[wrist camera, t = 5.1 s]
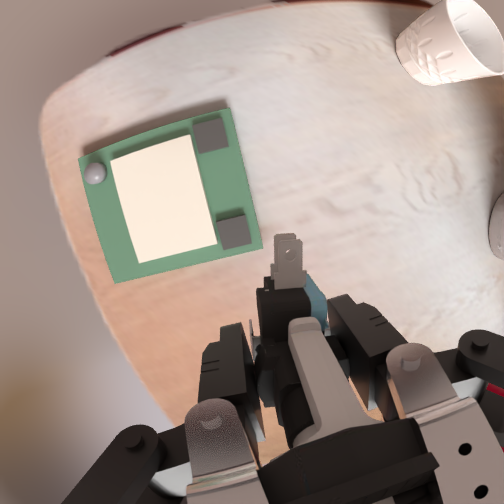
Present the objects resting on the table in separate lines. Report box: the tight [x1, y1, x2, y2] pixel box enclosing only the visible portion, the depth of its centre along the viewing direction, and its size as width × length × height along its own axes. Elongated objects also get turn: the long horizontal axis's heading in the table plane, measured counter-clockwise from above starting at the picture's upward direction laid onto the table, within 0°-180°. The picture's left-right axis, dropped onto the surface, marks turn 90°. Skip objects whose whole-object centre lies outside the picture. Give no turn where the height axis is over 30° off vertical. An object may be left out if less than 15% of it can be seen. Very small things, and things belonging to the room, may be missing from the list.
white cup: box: [396, 0, 504, 86], centre depth 16 cm, size 8×8×10 cm
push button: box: [249, 233, 440, 504], centre depth 7 cm, size 7×5×10 cm
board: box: [78, 108, 263, 284], centre depth 23 cm, size 14×12×2 cm
